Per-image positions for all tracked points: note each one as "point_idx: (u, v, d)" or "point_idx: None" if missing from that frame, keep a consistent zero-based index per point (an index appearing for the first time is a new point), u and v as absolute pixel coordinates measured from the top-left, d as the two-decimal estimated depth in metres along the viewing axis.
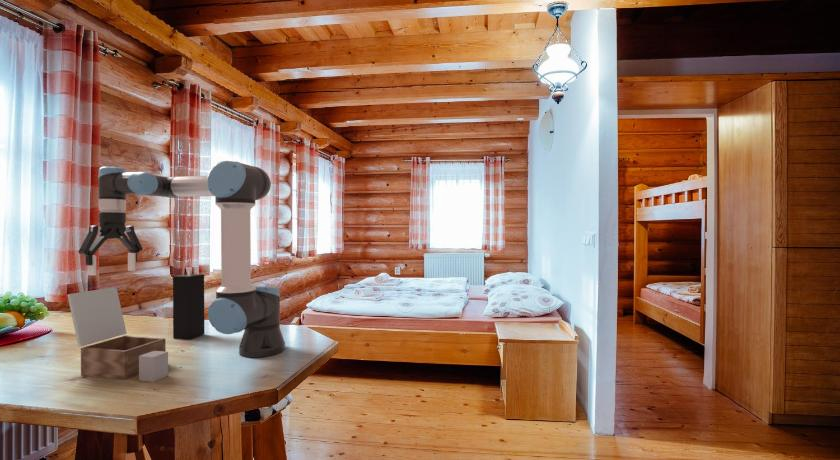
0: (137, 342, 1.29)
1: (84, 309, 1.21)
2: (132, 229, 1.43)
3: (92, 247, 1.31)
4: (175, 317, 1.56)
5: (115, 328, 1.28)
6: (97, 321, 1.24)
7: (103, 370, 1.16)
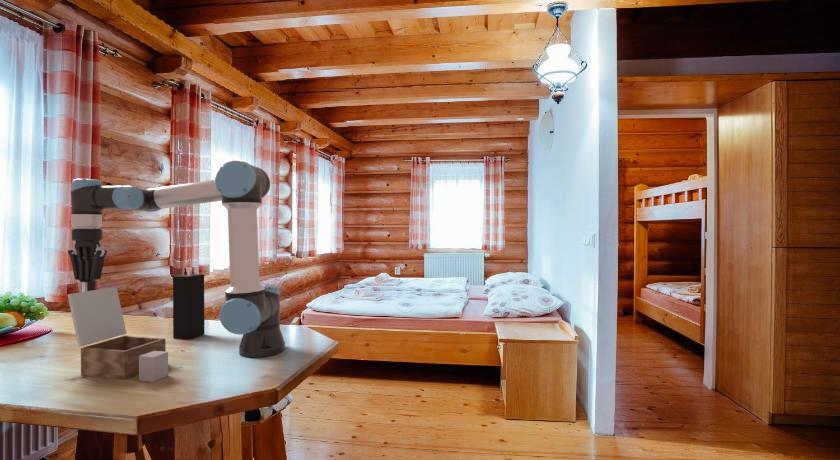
0: (137, 342, 1.29)
1: (84, 309, 1.21)
2: (96, 254, 1.23)
3: None
4: (175, 317, 1.56)
5: (115, 328, 1.28)
6: (97, 321, 1.24)
7: (103, 370, 1.16)
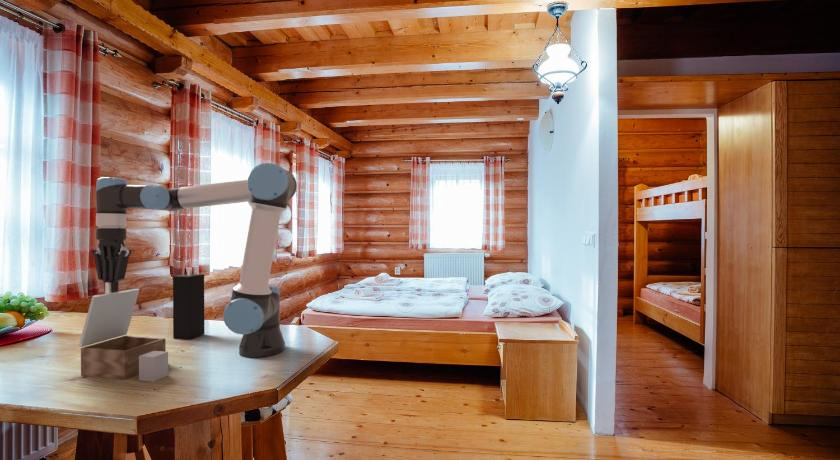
0: (137, 342, 1.29)
1: (101, 311, 1.20)
2: (121, 254, 1.21)
3: None
4: (175, 317, 1.56)
5: (119, 329, 1.28)
6: (106, 323, 1.23)
7: (103, 370, 1.16)
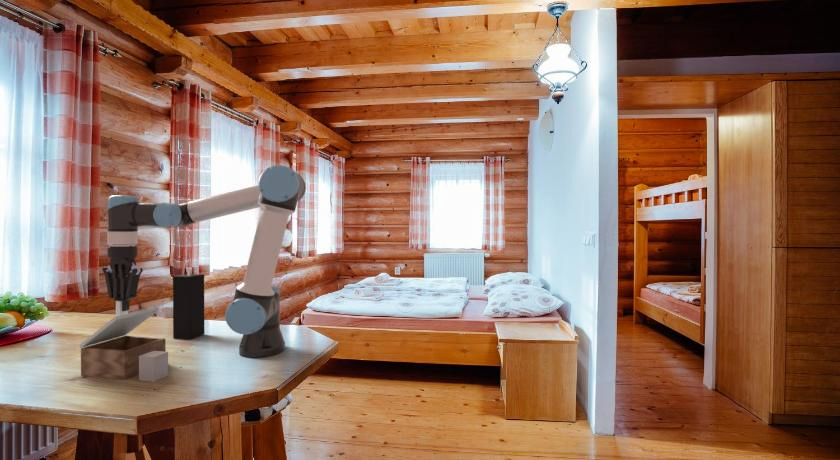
0: (137, 342, 1.29)
1: (115, 326, 1.19)
2: (132, 272, 1.20)
3: None
4: (175, 317, 1.56)
5: (122, 333, 1.28)
6: (114, 331, 1.22)
7: (103, 370, 1.16)
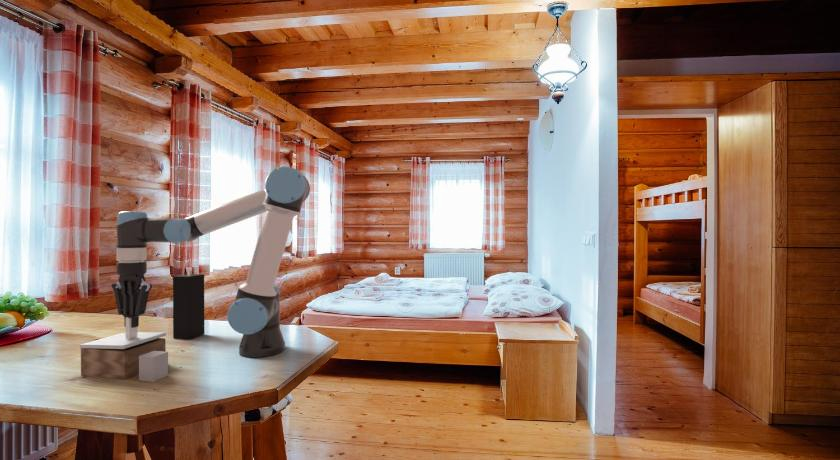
0: None
1: None
2: (142, 289, 1.20)
3: None
4: (175, 317, 1.56)
5: None
6: None
7: (103, 370, 1.16)
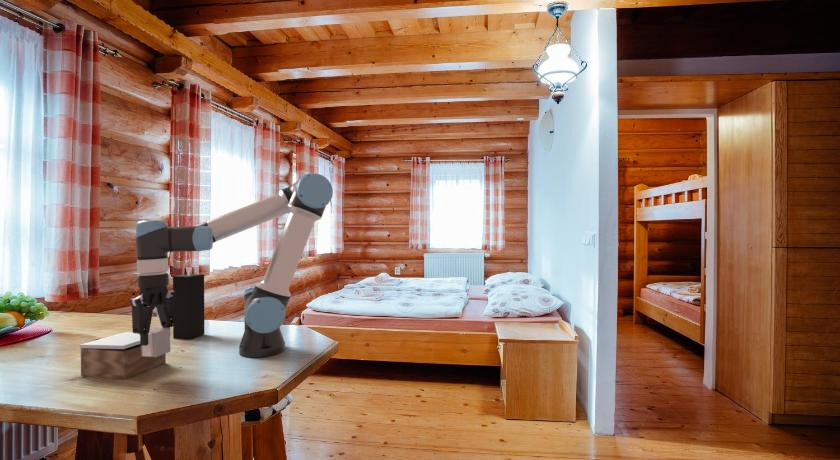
0: None
1: None
2: (173, 295, 1.21)
3: (144, 324, 1.12)
4: None
5: None
6: None
7: (103, 370, 1.16)
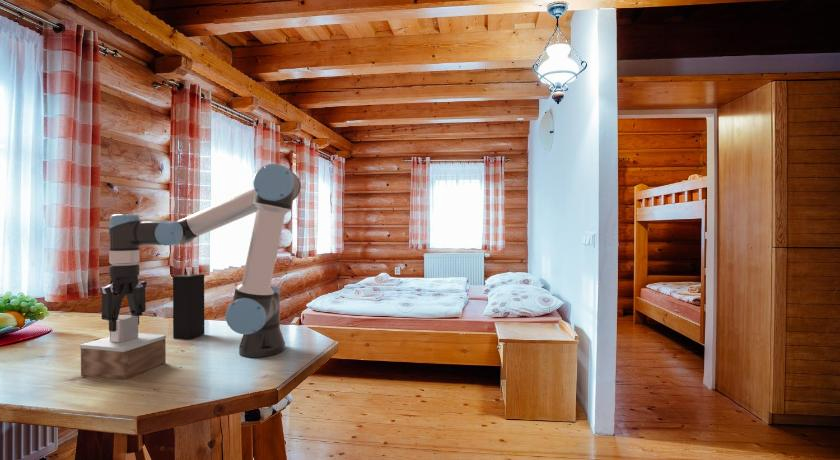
0: None
1: None
2: (144, 285, 1.28)
3: (113, 311, 1.19)
4: (175, 317, 1.56)
5: None
6: None
7: (103, 370, 1.16)
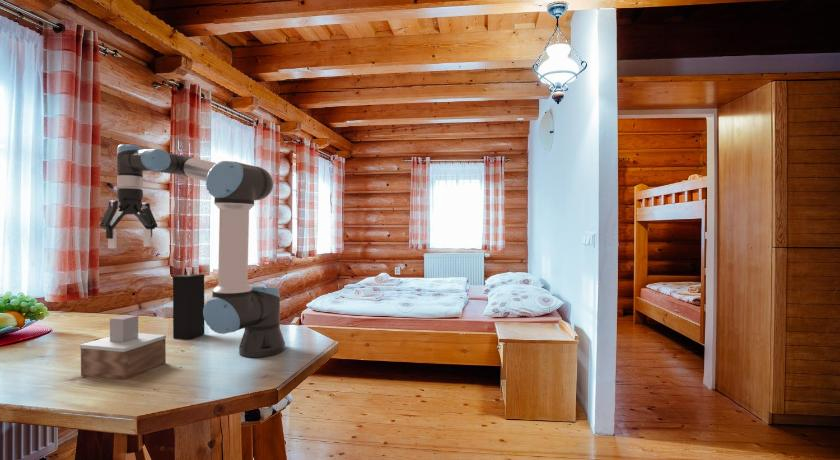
0: None
1: None
2: (148, 206, 1.49)
3: (112, 221, 1.36)
4: (175, 317, 1.56)
5: None
6: None
7: (103, 370, 1.16)
